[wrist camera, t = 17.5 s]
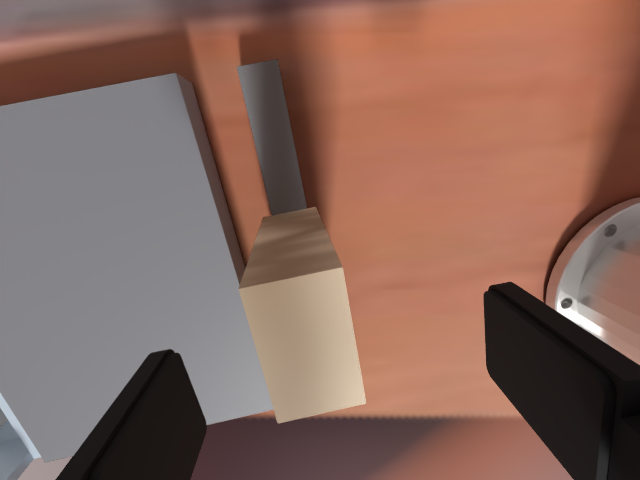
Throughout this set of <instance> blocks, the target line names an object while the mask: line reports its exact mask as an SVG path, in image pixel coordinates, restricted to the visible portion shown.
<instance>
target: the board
mask: <svg viewBox="0 0 640 480" xmlns="http://www.w3.org/2000/svg"><path fill="white" fill-rule="evenodd" d="M244 271H245V265H244V262H243V258H242V255H241V251H240V248H239V245H238V241H237V238H236V234H235V231H234V227H233V224H232V220H231V217H230V213H229V210H228V206H227V203H226V199H225V196H224V193H223V189H222V186H221V182H220V179H219V175H218V172H217V168H216V165H215V161H214V158H213V154H212V151H211V147H210V144H209V141H208V137H207V134H206V130H205V127H204V123H203V120H202V116H201V113H200V109H199V106H198V102H197V99H196V95H195V92H194V89H193V85H192V83H191V82H190V81H188V80H186V79H185V78H183V77H182V76H180V75H179V74H177V73H172V74H166V75H161V76H156V77H151V78H145V79H140V80H135V81H129V82H124V83H119V84H114V85H108V86H103V87H98V88H93V89H87V90H82V91H77V92H72V93H66V94H61V95H56V96H51V97H45V98H40V99H35V100H30V101H24V102H19V103H14V104H9V105H3V106H0V393H1V395H2V396H3V398H4V399H5V401H6V402H7V404H8V406H9V407H10V409H11V410H12V412H13V413H14V415H15V416H16V418H17V420H18V421H19V423H20V424H21V426H22V427H23V429H24V430H25V432H26V434H27V435H28V437H29V438H30V440H31V441H32V443H33V444H34V446H35V448H36V449H37V451H38V452H39V454H40V455H41V457H42V458H43V460H44V462H49V461H54V460H58V459H62V458H66V457H71V456H74V454H75V453H76V452H77V450H78V449H79V448H80V446H81V445H82V444H83V442H84V441H85V440H86V438H87V437H88V435H89V434H90V433H91V431H92V430H93V429H94V427H95V426H96V425H97V423H98V422H99V421H100V419H101V418H102V417H103V415H104V414H105V413H106V411H107V410H108V409H109V407H110V406H111V405H112V403H113V402H114V401H115V399H116V398H117V396H118V395H119V394H120V392H121V391H122V390H123V388H124V387H125V386H126V384H127V383H128V382H129V380H130V379H131V378H132V376H133V375H134V374H135V372H136V371H137V370H138V368H139V367H140V366H141V364H142V363H143V361H144V360H145V359H146V357H147V356H148V355H149V354H150V353H152V352H157V351H162V350H167V349H172V350H173V351H174V352H175V353H179V354H180V355H181V357H182V360H183V362H184V365H185V368H186V370H187V373H188V375H189V378H190V381H191V383H192V386H193V388H194V391H195V394H196V396H197V399H198V401H199V404H200V407H201V409H202V412H203V414H204V417H205V420H206V425H209V424H213V423H218V422H222V421H226V420H231V419H235V418H239V417H244V416H248V415H252V414H257V413H261V412H265V411H270V410H274V409H273V405H272V402H271V399H270V395H269V392H268V388H267V385H266V381H265V378H264V375H263V371H262V368H261V364H260V361H259V358H258V354H257V351H256V347H255V344H254V341H253V337H252V334H251V330H250V327H249V323H248V320H247V317H246V313H245V310H244V306H243V303H242V300H241V296H240V293H239V286H240V283H241V280H242V277H243V274H244Z"/></svg>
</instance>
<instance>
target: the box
mask: <svg viewBox="0 0 640 480" xmlns="http://www.w3.org/2000/svg"><path fill="white" fill-rule="evenodd" d="M0 408H1V410H2V411H3V413H4V414H5V416H6V417H7V419H8V421H7V422H6V423H5V424H4V425H3V426H2V427H1V428H0V480H17V479H18V478H19V477H20V475H21V474H22V473H23V472H24V470H25V469H26V468H27V466H28V465H29V464H30V463H31V462H32V460H33V459H35V458H40V457H41V455H40V454H39V452H38V451H37V449H36V448H35V446H34V444H33V443H32V441H31V440H30V438H29V437H28V435H27V434H26V432H25V430H24V429H23V427H22V426H21V424H20V423H19V421H18V420H17V418H16V416H15V415H14V413H13V412H12V410H11V409H10V407H9V406H8V404H7V402H6V401H5V399H4V398H3V396H2V395H1V393H0Z"/></svg>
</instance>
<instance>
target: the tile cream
mask: <svg viewBox="0 0 640 480" xmlns="http://www.w3.org/2000/svg"><path fill="white" fill-rule="evenodd" d="M7 421H8V419H7V417H6V416H5V414H4V413H3V411H2V410H1V408H0V428H1V427H2V426H3V425H4V424H5V423H6V422H7Z"/></svg>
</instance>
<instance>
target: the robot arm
mask: <svg viewBox="0 0 640 480" xmlns="http://www.w3.org/2000/svg"><path fill="white" fill-rule="evenodd" d="M484 318H485V344H486V366H487V370H488V373H489V375H490V377H491V378H492V379H493V381H494V382H495V383H496V384H497V386H498V387H499V388H500V389H501V390H502V392H503V393H504V394H505V395H506V397H507V398H508V399H509V400H510V402H511V403H512V404H513V405H514V406H515V408H516V409H517V410H518V411H519V413H520V414H521V415H522V416H523V418H524V419H525V420H526V421H527V422H528V424H529V425H530V426H531V427H532V429H533V430H534V431H535V432H536V433H537V435H538V436H539V437H540V438H541V440H542V441H543V442H544V443H545V445H546V446H547V447H548V448H549V450H550V451H551V452H552V453H553V454H554V456H555V457H556V458H557V459H558V461H559V462H560V463H561V464H562V466H563V467H564V468H565V469H566V470H567V472H568V473H569V474H570V475H571V477H572V478H573V479H574V480H640V197H638V198H634V199H629V200H627V201H624V202H622V203H620V204H617V205H615V206H612V207H611V208H609V209H607V210H606V211H604V212H602V213H601V214H599V215H597V216H596V217H595V218H594V219H592V220H591V221H590V222H589V223H588V224H586V225H585V226H584V227H583V228H581V230H580V231H579V232H578V233H577V234H576V235H575V236H574V237H573V238H572V239H571V240H570V242H569V243H568V244H567V246H566V247H565V249H564V250H563V252H562V253H561V255H560V256H559V258H558V260H557V262H556V264H555V266H554V268H553V270H552V272H551V276H550V279H549V283H548V286H547V293H546V304H545V303H543V302H542V301H540V300H539V299H537V298H536V297H534V296H533V295H531V294H530V293H528V292H526V291H525V290H523V289H522V288H520V287H519V286H517V285H516V284H514V283H512V282H506V283H501V284H496V285H491V286H490V287H489V289H488V291H486V292H485V293H484ZM206 429H207V425H206V420H205V417H204V414H203V412H202V409H201V407H200V404H199V401H198V399H197V396H196V394H195V391H194V388H193V386H192V383H191V381H190V378H189V375H188V373H187V370H186V368H185V365H184V362H183V360H182V357H181V355H180V354H179V353H175V352H174V351H173V350H172V349H167V350H162V351H157V352H152V353H150V354H149V355H148V356H147V357H146V359H145V360H144V361H143V363H142V364H141V366H140V367H139V368H138V370H137V371H136V372H135V374H134V375H133V376H132V378H131V379H130V380H129V382H128V383H127V384H126V386H125V387H124V388H123V390H122V391H121V392H120V394H119V395H118V396H117V398H116V399H115V401H114V402H113V403H112V405H111V406H110V407H109V409H108V410H107V411H106V413H105V414H104V415H103V417H102V418H101V419H100V421H99V422H98V423H97V425H96V426H95V427H94V429H93V430H92V431H91V433H90V434H89V435H88V437H87V438H86V440H85V441H84V442H83V444H82V445H81V446H80V448H79V449H78V450H77V452H76V453H75V454H74V456H73V457H72V458H71V460H70V461H69V463H68V464H67V465H66V467H65V468H64V469H63V471H62V472H61V473H60V475H59V476H58V477H57V479H56V480H190V479H191V476H192V473H193V470H194V467H195V464H196V461H197V458H198V455H199V452H200V449H201V446H202V443H203V440H204V437H205V434H206Z"/></svg>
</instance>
